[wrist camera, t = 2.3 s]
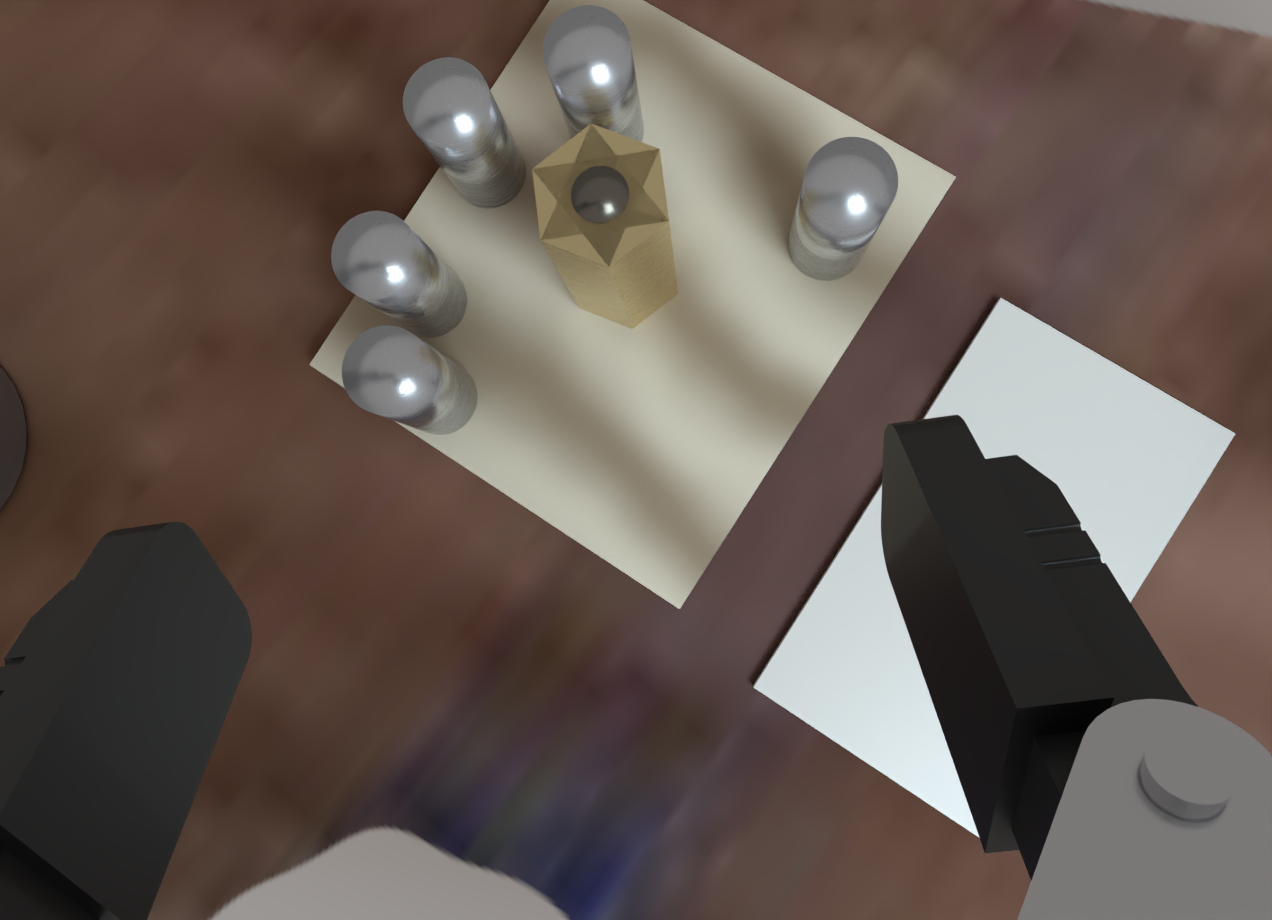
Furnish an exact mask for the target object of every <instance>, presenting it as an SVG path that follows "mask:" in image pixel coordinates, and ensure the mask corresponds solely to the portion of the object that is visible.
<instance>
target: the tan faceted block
mask: <svg viewBox="0 0 1272 920" xmlns="http://www.w3.org/2000/svg"><path fill="white" fill-rule="evenodd" d="M532 172H533V181H534V189H535V198H536V207H537V215H538V224H539V232H540V241H541V242H542V244H543V246H544V248H545V249H546V251H547V253H548V255H549V256H550V258H551V260H552V261H553V263H554V265H555V267H556V268H557V270H558V272H559V274H560V275H561V277H562V279H563V281H564V282H565V284H566V286H567V288H568V289H569V291H570V293H571V295H572V296H573V298H574V300H575V301H576V303H577V305H578V307H579V308H580V309H583V310H585V311H588V312H590V313H593V314H595V315H598V316H600V317H603V318H605V319H608V320H610V321H613V322H615V323H618V324H620V325H623V326H625V327H628V328H630V329H633V328H635V327H636V326H637V325H638V324H640V323H641V322H642V321H644V320H645V319H646V318H648V317H649V316H650V315H652V314H653V313H654V312H655V311H657V310H658V309H659V308H661V307H662V306H663V305H665V304H666V303H667V302H669V301H670V300H671V299H672V298H674V297H675V296H676V295H678V286H677V278H676V271H675V263H674V255H673V247H672V240H671V232H670V224H669V217H668V209H667V201H666V194H665V186H664V179H663V171H662V163H661V156H660V149H659V148H656V147H653V146H651V145H648V144H645V143H643V142H640V141H637V140H634V139H632V138H629V137H626V136H624V135H621V134H618V133H616V132H613V131H610V130H607V129H605V128H602V127H599V126H597V125H594V124H590V125H588V126H587V127H586V128H585V129H583V130H582V131H581V132H579V133H578V134H577V135H575V136H574V137H573V138H572V139H570V140H569V141H568V142H566V143H565V144H564V145H563V146H561V147H560V148H559V149H557V150H556V151H555V152H553V153H552V154H551V155H550V156H548V157H547V158H546V159H544V160H543V161H542V162H540V163H539V164H538V165H537V166H535V167H534V168H533V169H532Z"/></svg>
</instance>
